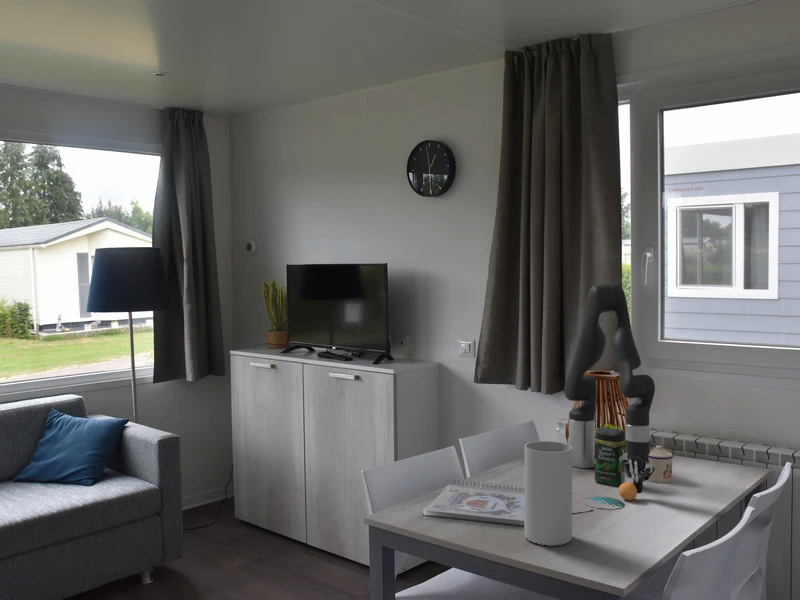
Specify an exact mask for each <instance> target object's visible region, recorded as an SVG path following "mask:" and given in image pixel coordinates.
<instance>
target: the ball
mask: <svg viewBox="0 0 800 600" xmlns="http://www.w3.org/2000/svg"><path fill="white" fill-rule="evenodd" d="M618 487H619V488H618V494H619V496H620V497H621V498H622V499H623V500H625V501H632V500H634V499H635V498H636V497H637V495H638V494H637V489H636V487H635V485H634V484H633V482H628V481H625V482H624V483H623V484H621V485H619V486H618Z"/></svg>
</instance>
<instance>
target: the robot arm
mask: <svg viewBox="0 0 800 600" xmlns="http://www.w3.org/2000/svg"><path fill="white" fill-rule="evenodd" d="M587 294H588V295H587V299H586V305H585V306H586V307H585V311H584V317H583V322H582V326H581V330H580V334H579V337H578V341H577V344H576V349H575V353H574V357H573V361H572V364H571V366H570V369H569V371H568V374H567V376H566V379H565V381H564V383H565V384H564V395H565V397H566V399H567V400H569V401H573V402H582V403H581V404H580V405H579V406H577V407H575V408H573V409H571V410H570V411H569V412H568V437H567V444H568V445H570V446H572V468H578V469H591V468H594V467H595V460H596V459H595V452H596V451H595V450H596V449H595V447H596V446H595V445H596V442H595V436H596V425H595V424H596V420H595V419H596V411H597V408H596V407H597V389H598V388H597V381H596V379H595V377H594V376H593V375H584V374H586V373H587V371H588V370H590V369H591V368H592V367H594V365H596V364H597V363H598V362H599V361H601V358H602V357H603V354H604V350H605V348H606V344H607V338H606V334H605V332H604V330H603V329H602V327H601V325H600V323H599V320H600V316H601V314H603V313H609V312H611V313H612V312H614V314H615V316H616V319H617V320H616V322H617V323H616V328H615V332H614V335H613V341H612V348H613V349H612V350H613V353H614V355H615V359H616V362H617V365H618V380H619V383H618V385H619V390H620V392H621V394H622V395H623V396H624V397H625V398H627V399H636V401H635V402H634V403H632V404H629V405H628V406H627V407H626V409H625V429H624V430H625V431H624V433H625V445H624V446H625V447H624V450H625V451H624V452H625V453H626V458H625V459H624V458H623V459H624V460H622V464H623V466H624V471H625V473H626V475H627V476H628V478H631V480H632V484H634V485H635V487H636V489H637V495H639V494H642V493H643V490H644V489H643V488H644V486H643V484H644V482H646V481H649V480H648V479H649V478H650V476H651V475H652V473H653V472H654V470H655V468H654V467H651V466H650V465H649V459H648V455H649V454H650V450H651V427H650V412H651V407H652V403H653V401H654V400H653V399H654V397H655V392H656V386H655V385H656V384H655V382H654V379H653V378H652V377H651V376H650V375H648V374H637V375H636V374H635V375H634V374H633V371H635V370H636V369H638V368H640V366H641V364H642V361H641V357H640V354H639V352H638V348H637V345H636V343H635V340H634V335H633V332H632V331H633V330H632V324H631V319H630V314H629V312H630V311H629V309H628V308H629V307H628V302H627V297H626V294H625V291H624V289H623V287H622V286H621V285H620V284H619V283H605V284H597V285H596V284H595V285H592V287H591V288H590V289H589V291H588V293H587Z"/></svg>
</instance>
